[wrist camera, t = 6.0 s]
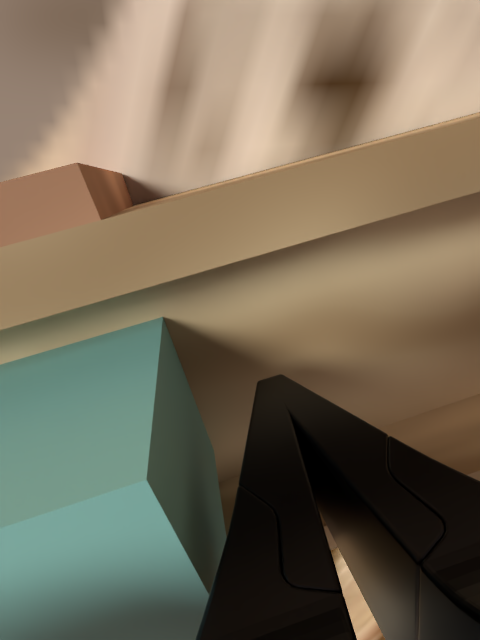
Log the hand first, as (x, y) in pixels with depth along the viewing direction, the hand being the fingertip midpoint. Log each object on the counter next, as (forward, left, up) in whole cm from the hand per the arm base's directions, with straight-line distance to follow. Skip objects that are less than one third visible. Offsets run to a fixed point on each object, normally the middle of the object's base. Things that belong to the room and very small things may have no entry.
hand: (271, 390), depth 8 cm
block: (0, +5, -1) cm, 5 cm away
